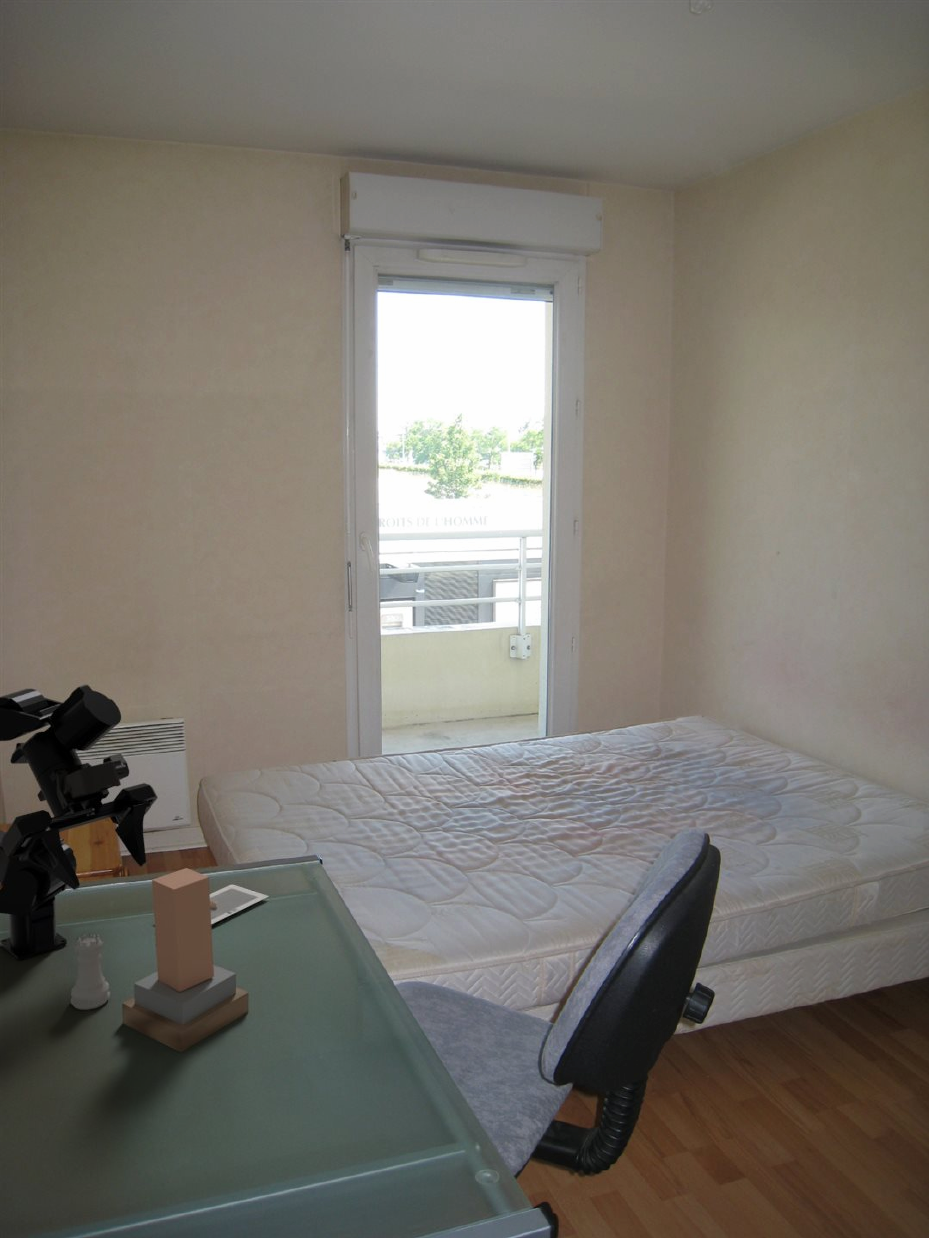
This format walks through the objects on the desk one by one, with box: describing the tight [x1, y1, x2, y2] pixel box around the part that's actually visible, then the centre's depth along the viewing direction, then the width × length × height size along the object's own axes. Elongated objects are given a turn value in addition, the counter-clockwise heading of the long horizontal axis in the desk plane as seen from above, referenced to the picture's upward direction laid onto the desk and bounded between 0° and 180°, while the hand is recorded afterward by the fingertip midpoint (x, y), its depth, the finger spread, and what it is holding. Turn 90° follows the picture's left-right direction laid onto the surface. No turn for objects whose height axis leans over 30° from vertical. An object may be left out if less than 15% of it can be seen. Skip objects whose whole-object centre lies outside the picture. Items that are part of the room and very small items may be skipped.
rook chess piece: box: [70, 933, 111, 1011], centre depth 111 cm, size 4×4×8 cm
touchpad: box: [210, 884, 269, 925], centre depth 136 cm, size 8×15×2 cm, turn 148°
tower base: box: [121, 986, 250, 1053], centre depth 108 cm, size 10×10×3 cm
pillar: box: [151, 867, 214, 992], centre depth 107 cm, size 4×4×12 cm
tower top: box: [133, 964, 237, 1025], centre depth 108 cm, size 8×8×2 cm
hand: (111, 875), depth 115 cm, fingers open, 9 cm apart
